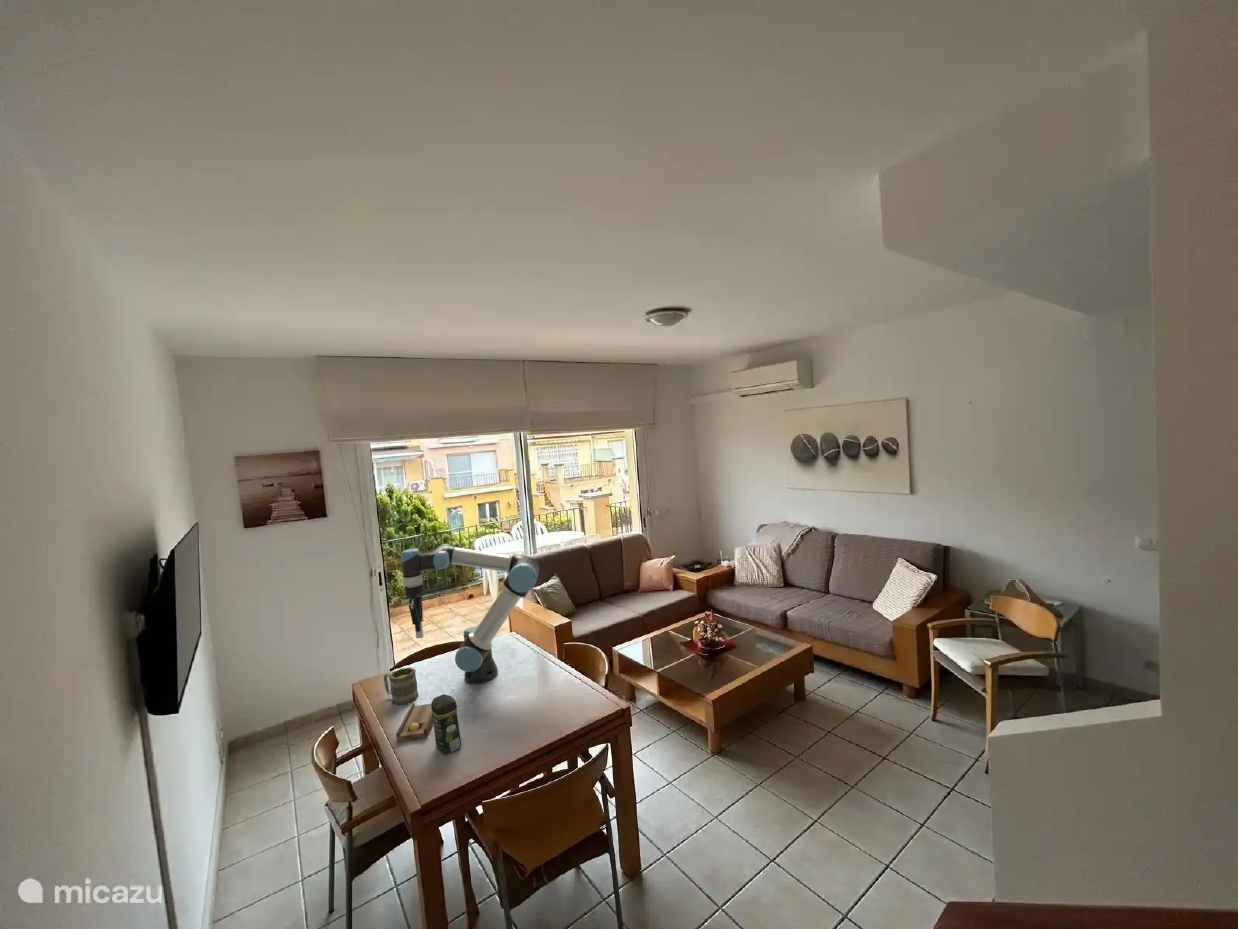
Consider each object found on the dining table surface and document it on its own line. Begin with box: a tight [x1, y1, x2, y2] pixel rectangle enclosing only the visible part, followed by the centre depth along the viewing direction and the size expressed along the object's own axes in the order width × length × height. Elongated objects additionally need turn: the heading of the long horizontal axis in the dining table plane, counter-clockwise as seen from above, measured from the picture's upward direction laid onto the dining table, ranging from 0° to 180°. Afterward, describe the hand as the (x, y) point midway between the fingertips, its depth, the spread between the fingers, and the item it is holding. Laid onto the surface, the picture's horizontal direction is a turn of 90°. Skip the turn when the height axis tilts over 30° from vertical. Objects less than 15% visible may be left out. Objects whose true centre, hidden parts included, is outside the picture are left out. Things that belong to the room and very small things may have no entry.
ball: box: [409, 723, 420, 731], centre depth 202 cm, size 4×4×4 cm
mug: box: [383, 667, 419, 707], centre depth 229 cm, size 16×11×12 cm
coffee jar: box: [430, 693, 462, 755], centre depth 190 cm, size 10×8×19 cm
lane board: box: [395, 702, 434, 744], centre depth 208 cm, size 11×22×4 cm, turn 7°
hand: (419, 637), depth 229 cm, fingers closed
